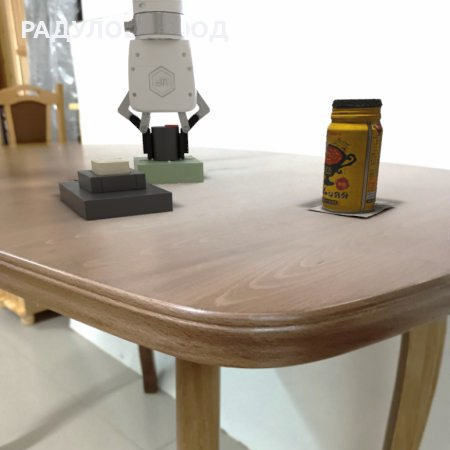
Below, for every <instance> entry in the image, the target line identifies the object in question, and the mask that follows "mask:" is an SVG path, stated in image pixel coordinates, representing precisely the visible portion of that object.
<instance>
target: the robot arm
mask: <svg viewBox="0 0 450 450" xmlns="http://www.w3.org/2000/svg"><path fill="white" fill-rule="evenodd" d="M132 13H133V14H132V18H131V20H128V21H123V29H124V32H125V33H130V34H132V35H133V36H134V39H130V40H129V46H128V55H127V56H128V57H127V62H128V63H127V65H128V66H127V75H128V77H127V78H128V91H127V93H126V94H125V95H124V98H123V100H122V101H121V102H120V104H119V106H118V108H117V113H118V114H119V115H121V116H122V117H123V118H125V119H126V120H127V121H129V122H130V123H131V124H132V125H133V126H134V127H135V128H136V129H137V130H138V131H139V132H140V133H141V139H142V153H143V155H146V157H148V160H151V159H153V153H152V136H151V127H150V124H151V117H152V114H153V113H177V115H178V116H177V117H178V119H179V123H180V127H179V146H180V159H185V156H186V154H189V153H190V152H189V150H190V149H189V132H190V131H191V130H192V129H193V127H195V126H196V124H197V123H199V121H200V120H202V119H203V118H205V116H207V115H209V113H210V112H211V108H210V106H209V104H207V102H206V101H205V99H204V98H203V97H202V95H201V93H200V92H199V91H198V89H197V78H196V75H197V74H196V65H195V64H196V63H195V56H194V55H195V54H194V50H193V44H192V41H191V39H187V31H186V29H187V28H186V0H132ZM197 106H198V110H197V111H196V112H194V113H193V114H192V115H191V116H190V117H189V118H188V115H187V113H188V112H191V111H193V110H195V109H196V108H197ZM130 108H131V109H132V111H135V112H137V113H141V116H140V117H139V116H138V115H137V114H135V113H134V112H132V111H131V110H130Z"/></svg>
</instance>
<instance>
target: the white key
mask: <svg viewBox="0 0 450 450" xmlns="http://www.w3.org/2000/svg"><path fill="white" fill-rule="evenodd" d="M90 165H91V170H92V173H94V174H96V175H98V176H99V175H110V174H124V173H130V171H129V168H130V161H129V160H127V159H124V158H120V157H119V158H118V157H117V158H101V159H100V158H99V159H98V158H97V159H91V160H90Z"/></svg>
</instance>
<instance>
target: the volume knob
mask: <svg viewBox="0 0 450 450" xmlns="http://www.w3.org/2000/svg"><path fill="white" fill-rule="evenodd" d="M150 132H151V136H152V153H153V160H155V161H175V160H180V146H179V133H180V127H179V124H164V125H155V126H150Z"/></svg>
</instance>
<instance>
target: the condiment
mask: <svg viewBox="0 0 450 450" xmlns="http://www.w3.org/2000/svg"><path fill="white" fill-rule="evenodd" d="M383 105H384V104H383V101H382V99H381V98H341V99H340V98H337V99H334V100H332V104H331V107H332V108H331V113H330V120H331V122H330V123H329V125H328V126H327V128H326V134H325V135H326V136H325V148H324V149H325V150H324V151H325V152H324V164H323V181H322V197H321V203H322V204H319V205H317V206H315V207H311V208H309V210H311V211H317V212H322V213H328V214H333V215H334V214H335V215H342V216H357V217H363V218H368V217H371V216H374V215H376V214H378V213H381V212H382V211H384V210H385V209H388V208H390V207H392V206H393V205H395V203H390V202H389V203H384V202H383V203H382V202H376V201H377V194H378V193H377V192H378V182H379V181H378V180H379V172H380V171H379V170H380V161H381V152H382V144H383V134H384V128H383V126H382V122H381V119H382V106H383Z"/></svg>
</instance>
